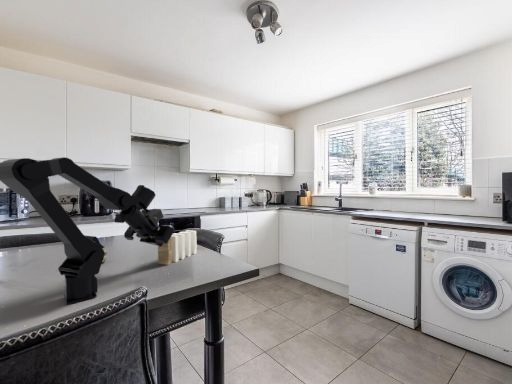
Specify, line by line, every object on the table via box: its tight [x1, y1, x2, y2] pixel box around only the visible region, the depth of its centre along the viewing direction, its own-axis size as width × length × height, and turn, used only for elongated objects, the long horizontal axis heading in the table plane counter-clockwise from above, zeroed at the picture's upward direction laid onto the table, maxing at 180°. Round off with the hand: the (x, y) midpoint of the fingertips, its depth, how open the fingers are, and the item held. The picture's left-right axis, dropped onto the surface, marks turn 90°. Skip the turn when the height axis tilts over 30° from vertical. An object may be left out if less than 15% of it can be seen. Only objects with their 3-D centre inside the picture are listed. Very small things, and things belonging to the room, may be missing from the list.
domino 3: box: [172, 232, 186, 260], centre depth 104 cm, size 2×5×10 cm, turn 68°
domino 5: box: [184, 229, 198, 255], centre depth 111 cm, size 2×5×10 cm, turn 68°
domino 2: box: [171, 235, 180, 263], centre depth 100 cm, size 2×5×10 cm, turn 68°
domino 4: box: [178, 231, 192, 258], centre depth 108 cm, size 2×5×10 cm, turn 68°
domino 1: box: [157, 238, 173, 266], centre depth 97 cm, size 2×5×10 cm, turn 68°
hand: (161, 245), depth 95 cm, fingers closed
